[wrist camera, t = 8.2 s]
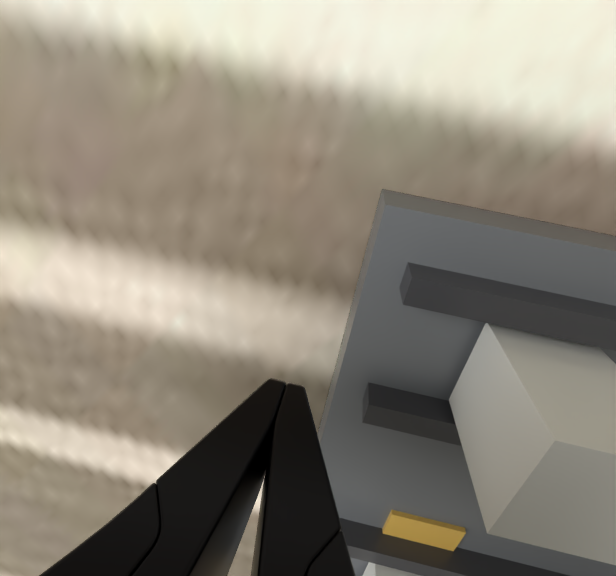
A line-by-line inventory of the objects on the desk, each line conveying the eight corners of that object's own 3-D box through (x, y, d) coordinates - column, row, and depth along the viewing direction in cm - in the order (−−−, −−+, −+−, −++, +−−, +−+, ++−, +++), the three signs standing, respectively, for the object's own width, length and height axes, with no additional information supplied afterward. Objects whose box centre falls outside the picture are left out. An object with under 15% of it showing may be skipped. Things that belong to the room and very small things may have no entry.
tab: (597, 345, 10) (731, 481, 6) (544, 421, 11) (629, 568, 7) (486, 320, 10) (554, 440, 6) (448, 399, 11) (487, 533, 8)
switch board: (1016, 316, 10) (1253, 392, 7) (612, 623, 19) (652, 705, 17) (382, 188, 11) (387, 214, 8) (289, 540, 20) (278, 606, 17)
